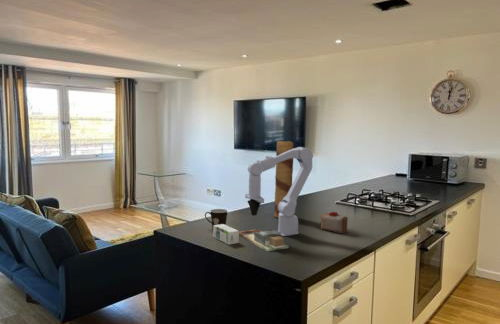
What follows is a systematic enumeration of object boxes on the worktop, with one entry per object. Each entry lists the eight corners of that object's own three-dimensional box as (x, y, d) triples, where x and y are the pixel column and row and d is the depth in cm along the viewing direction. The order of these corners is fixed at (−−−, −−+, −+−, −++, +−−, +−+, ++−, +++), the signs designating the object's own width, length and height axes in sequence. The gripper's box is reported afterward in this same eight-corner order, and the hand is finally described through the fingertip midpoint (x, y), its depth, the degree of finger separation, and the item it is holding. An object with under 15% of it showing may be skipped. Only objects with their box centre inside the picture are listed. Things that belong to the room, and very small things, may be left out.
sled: (269, 239, 166) (269, 230, 165) (284, 247, 155) (284, 237, 155) (259, 240, 163) (260, 232, 163) (274, 248, 153) (274, 239, 152)
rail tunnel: (257, 231, 181) (257, 220, 181) (288, 247, 158) (289, 235, 157) (237, 234, 176) (237, 223, 176) (267, 251, 152) (267, 238, 152)
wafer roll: (286, 214, 220) (289, 140, 216) (294, 218, 210) (296, 141, 206) (271, 215, 217) (272, 140, 213) (277, 219, 207) (279, 141, 203)
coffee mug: (230, 230, 183) (231, 211, 182) (217, 233, 177) (217, 213, 176) (216, 225, 191) (216, 207, 190) (203, 228, 185) (203, 209, 184)
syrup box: (228, 245, 160) (212, 236, 171) (239, 242, 163) (222, 234, 175) (228, 232, 159) (212, 225, 171) (239, 230, 162) (223, 223, 174)
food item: (317, 229, 188) (318, 211, 187) (325, 226, 194) (325, 208, 193) (342, 234, 179) (342, 215, 178) (349, 231, 185) (349, 212, 185)
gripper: (240, 185, 178) (239, 212, 179) (255, 190, 166) (254, 219, 167) (252, 184, 182) (252, 211, 183) (268, 189, 169) (267, 217, 170)
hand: (254, 215), depth 175 cm, fingers closed
